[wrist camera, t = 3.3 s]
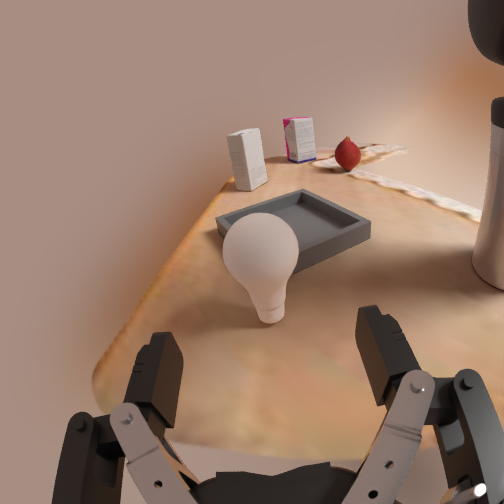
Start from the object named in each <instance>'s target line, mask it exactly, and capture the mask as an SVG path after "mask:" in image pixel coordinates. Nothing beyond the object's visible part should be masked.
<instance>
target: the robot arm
mask: <svg viewBox="0 0 504 504" xmlns="http://www.w3.org/2000/svg"><path fill="white" fill-rule="evenodd" d="M468 20H469V28H470V32H471V35H472V38H473V41H474V43H475V45H476V47H477V48H478V49H479V51H480V52H481V54H482V55H484V56H485V57H486V58H487V59H489V60H491V61H493V62H495V63H498V64H500V65H504V0H468ZM491 122H492V123H491V144H490V160H489V170H488V178H487V186H486V193H485V199H484V205H483V211H482V216H481V221H480V226H479V230H478V234H477V239H476V243H475V247H474V251H473V255H472V265H473V267H474V269H475V271H476V272H477V273H478V275H479V276H480V277H481V278H482V279H483V280H485V281H486V282H487V283H489V284H491V285H492V286H494V287H496V288H499V289H501V290H504V97H499V98H496V99H494V100H493V102H492V105H491ZM355 338H356V344H357V347H358V350H359V352H360V355H361V358H362V361H363V364H364V367H365V370H366V373H367V376H368V379H369V382H370V385H371V388H372V391H373V394H374V397H375V401H376V404H377V406H381V405H385V406H386V409H387V412H386V415H385V417H384V419H383V421H382V423H381V426H380V428H379V430H378V432H377V434H376V436H375V438H374V440H373V442H372V444H371V446H370V448H369V450H368V452H367V454H366V455H365V457H364V459H363V461H362V463H361V464H360V466H359V468H358V470H357V471H356V472H354V471H351V470H348V469H345V468H341V467H331V466H330V462H325V463H320V464H314V465H307V466H301V467H298V468H296V469H293V470H290V471H287V472H284V473H282V474H278V475H275V476H268V475H261V474H255V473H248V472H216V477H214V478H211V479H208V480H206V481H203V482H201V483H200V482H199V481H198V479H197V478H196V477H195V476H194V475H193V473H192V472H191V471H190V470H189V469H188V468H187V467H186V466H185V465H184V463H183V462H182V460H181V459H180V457H179V456H178V455H177V453H176V452H175V450H174V449H173V447H172V446H171V444H170V443H169V441H168V440H167V438H166V437H165V435H164V433H165V428H174V424H175V417H176V410H177V403H178V396H179V390H180V384H181V377H182V371H183V356H182V353H181V351H180V349H179V347H178V345H177V343H176V341H175V339H174V337H173V335H172V333H171V332H157V333H153V334H152V337H151V340H150V344H149V345H144V346H143V347H142V348H141V350H140V351H139V352H138V354H137V357H136V360H135V365H134V367H133V370H132V372H133V373H132V374H131V377H130V381H129V384H128V388H127V391H126V395H125V399H124V402H123V403H122V404H120V405H118V406H116V407H115V408H114V409H113V411H112V412H111V414H109V415H104V416H100V417H95V418H93V417H92V416H91V415H90V414H88V413H86V412H79V413H76V414H75V415H74V416H73V417H72V418H71V419H70V421H69V423H68V427H67V431H66V434H65V439H64V443H63V447H62V451H61V456H60V460H59V465H58V470H57V475H56V480H55V486H54V492H53V498H52V504H120V499H121V498H120V497H121V488H122V478H123V469H124V461H125V457H127V459H128V463H127V469H128V471H129V473H130V475H131V477H132V478H133V480H134V482H135V484H136V486H137V487H138V489H139V491H140V492H141V494H142V496H143V498H144V499H145V501H146V502H147V504H401V503H400V502H398V501H397V500H395V499H396V497H397V495H398V493H399V491H400V489H401V487H402V485H403V483H404V481H405V478H406V476H407V474H408V472H409V469H410V467H411V465H412V463H413V460H414V458H415V455H416V453H417V450H418V448H419V445H420V442H421V439H422V435H421V431H422V428H423V425H433V428H434V431H435V435H436V438H437V442H438V445H439V449H440V453H441V457H442V461H443V465H444V469H445V474H446V478H447V482H448V488H449V490H447V491H446V492H445V494H444V495H443V496H442V498H441V501H440V504H504V432H503V429H502V426H501V423H500V421H499V418H498V416H497V413H496V410H495V408H494V405H493V403H492V401H491V398H490V396H489V394H488V391H487V389H486V387H485V384H484V382H483V380H482V378H481V376H480V375H479V374H478V373H477V372H476V371H474V370H472V369H463V370H461V371H459V372H458V373H457V374H456V375H455V377H452V378H435V377H432V376H431V375H430V374H429V373H427V372H426V371H423V370H422V369H421V368H420V366H419V364H418V362H417V360H416V358H415V356H414V354H413V352H412V349H411V347H410V345H409V343H408V341H407V340H406V337H405V335H404V333H402V329H401V328H400V326H399V324H398V322H397V321H396V320H395V319H394V318H393V317H392V316H390V315H389V314H387V315H382V314H381V312H380V310H379V308H378V306H377V305H371V306H366V307H361V308H359V309H358V315H357V323H356V330H355Z"/></svg>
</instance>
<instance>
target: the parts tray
mask: <svg viewBox="0 0 504 504" xmlns="http://www.w3.org/2000/svg"><path fill="white" fill-rule="evenodd" d="M253 213H268V214H272V215H275V216H277V217H279V218H281V219H282V220H284V221H285V222H286V223H287V224H288V225H289V226H290V227H291V228H292V230H293V232H294V234H295V236H296V238H297V241H298V247H299V255H298V260H297V264H296V266H295V268H294V270H293V272H292V274H294V273H296V272H298V271H300V270H303V269H305V268H307V267H309V266H311V265H314V264H316V263H318V262H320V261H322V260H324V259H327V258H329V257H331V256H333V255H335V254H337V253H339V252H342V251H344V250H346V249H348V248H350V247H352V246H354V245H356V244H358V243H361V242H363V241H365V240H367V239H369V238H370V233H371V221H369V220H367V219H365V218H363V217H361V216H359V215H357V214H355V213H353V212H351V211H349V210H347V209H345V208H343V207H341V206H339V205H337V204H335V203H333V202H331V201H329V200H326V199H324V198H322V197H320V196H318V195H316V194H314V193H311V192H309V191H307V190H305V189H301V190H298V191H295V192H292V193H288V194H285V195H282V196H279V197H276V198H273V199H270V200H267V201H264V202H261V203H258V204H255V205H252V206H249V207H246V208H243V209H240V210H237V211H234V212H231V213H228V214H225V215H222V216H220V217H217V218H215V219H216V223H217V227H218V231H219V233H220V234H221V235H222V236H223V238H224V239H225V236H226V234H227V232H228V231H229V229H230V228H231V226H232V225H233V224H234V223H235V222H237V221H238V220H239V219H241V218H242V217H244V216H247V215H249V214H253Z"/></svg>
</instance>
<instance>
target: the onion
mask: <svg viewBox="0 0 504 504" xmlns="http://www.w3.org/2000/svg"><path fill="white" fill-rule="evenodd" d="M360 158H361V154H360V150H359V148H358V147H357V146H356V145H355V144H354V143H353V142H351V141H350V137H346V138H345V139H344V140H343V141H342V142H341V143H340V144H339V145H338V146H337V148H336V150H335V159H336V161H337V163H338V164H339V165H340V166H341V167H343V168H344V169H346V170H348V171H350V170H352V169H353V168H354V167H355V166H356V165H357V164H358V163H359V161H360Z"/></svg>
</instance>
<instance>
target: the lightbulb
mask: <svg viewBox="0 0 504 504" xmlns="http://www.w3.org/2000/svg"><path fill="white" fill-rule="evenodd" d="M298 255H299V247H298V241H297V238H296V236H295V234H294V232H293V230H292V228H291V227H290V226H289V225H288V224H287V223H286V222H285V221H284V220H282V219H281V218H279V217H277V216H275V215H272V214H268V213H253V214H249V215H247V216H244V217H242V218H241V219H239V220H238V221H237V222H235V223H234V224H233V225H232V226H231V228H230V229H229V231H228V232H227V234H226V236H225V239H224V243H223V259H224V263H225V265H226V267H227V269H228V271H229V273H230V274H231V275H232V276H233V277H234V278H235V279H236V280H237V281H238V282H239V283H240V284H241V285H242V286H244V287H245V289H246V290H247V291H248V293H249V295H250V297H251V301H252V303H253V305H254V306H255V307H256V311H257V314H258V317H259V319H260V320H261V321H262V322H265V323H269V324H271V323H276V322H278V321H280V320H281V319H282V318H283V316H284V301H285V298H286V284H287V281H288V279H289V277H290V276H291V274H292V272H293V270H294V268H295V266H296V264H297V260H298Z"/></svg>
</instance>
